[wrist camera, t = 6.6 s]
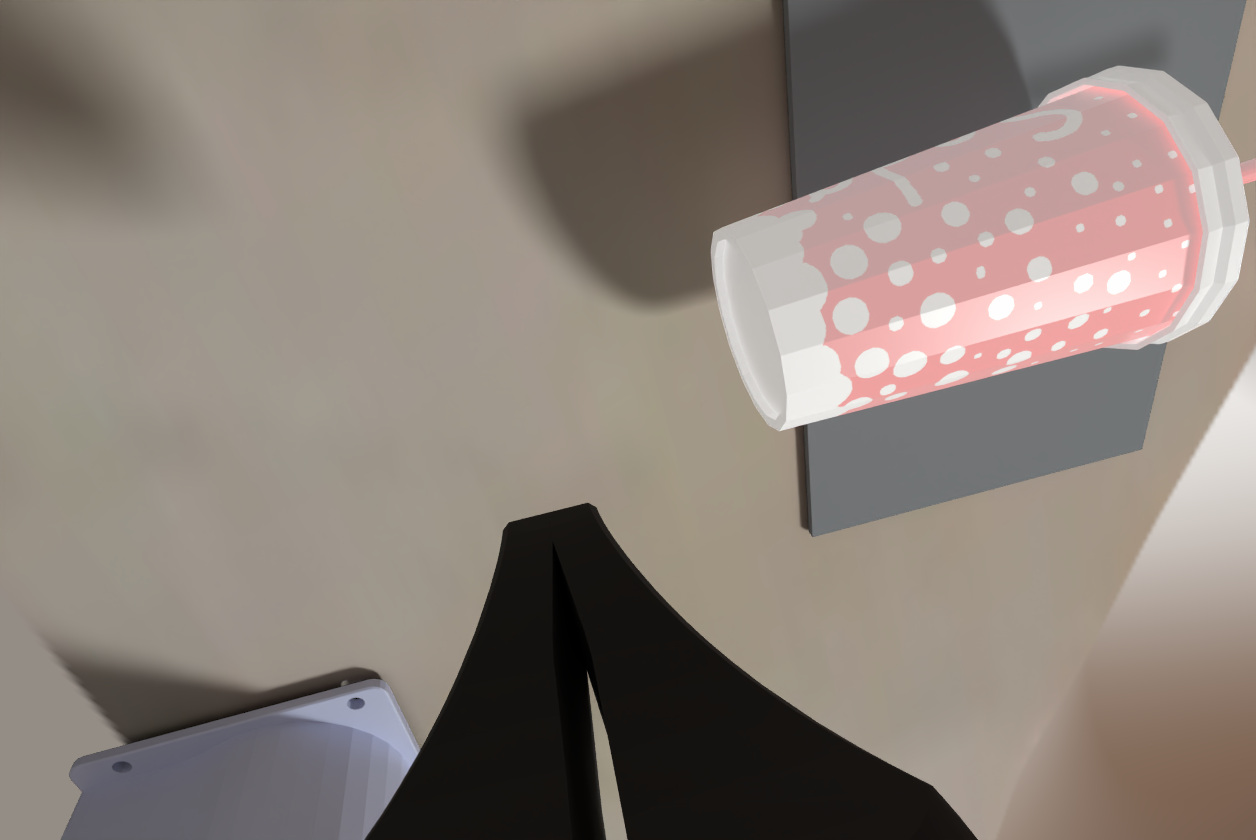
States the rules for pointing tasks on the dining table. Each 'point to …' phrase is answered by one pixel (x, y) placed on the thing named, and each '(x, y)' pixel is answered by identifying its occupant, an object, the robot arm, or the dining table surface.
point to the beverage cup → (989, 252)
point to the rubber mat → (932, 115)
